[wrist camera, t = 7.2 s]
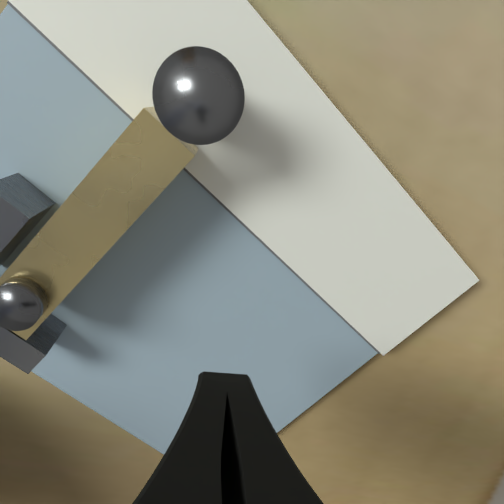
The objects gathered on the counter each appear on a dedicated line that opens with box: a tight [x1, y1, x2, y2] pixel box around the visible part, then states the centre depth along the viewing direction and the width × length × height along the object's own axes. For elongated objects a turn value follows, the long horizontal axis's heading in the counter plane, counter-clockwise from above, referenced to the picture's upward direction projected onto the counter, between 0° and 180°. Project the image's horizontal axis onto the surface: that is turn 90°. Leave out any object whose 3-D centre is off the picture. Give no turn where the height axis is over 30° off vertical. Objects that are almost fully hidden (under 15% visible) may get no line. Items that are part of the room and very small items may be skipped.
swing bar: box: [0, 107, 199, 340], centre depth 15 cm, size 10×2×3 cm, turn 135°
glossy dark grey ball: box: [152, 46, 245, 145], centre depth 14 cm, size 3×3×4 cm
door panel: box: [0, 0, 479, 454], centre depth 18 cm, size 19×22×1 cm
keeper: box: [0, 173, 67, 374], centre depth 16 cm, size 6×6×2 cm
